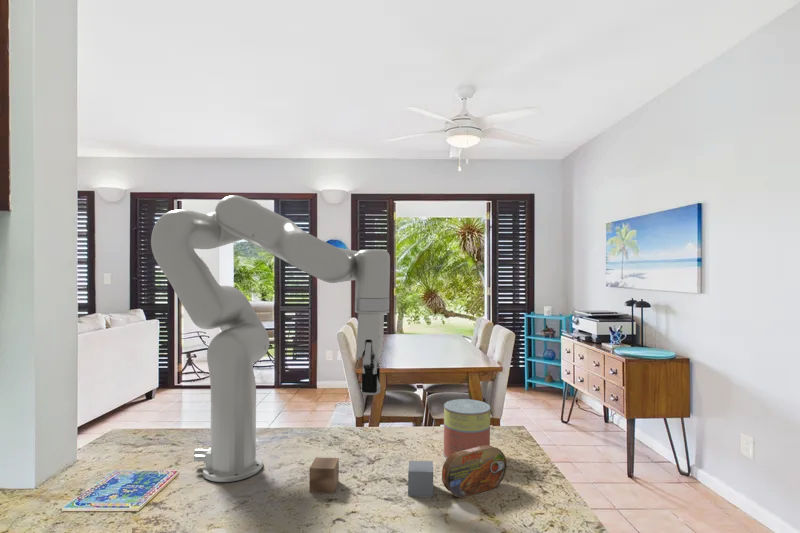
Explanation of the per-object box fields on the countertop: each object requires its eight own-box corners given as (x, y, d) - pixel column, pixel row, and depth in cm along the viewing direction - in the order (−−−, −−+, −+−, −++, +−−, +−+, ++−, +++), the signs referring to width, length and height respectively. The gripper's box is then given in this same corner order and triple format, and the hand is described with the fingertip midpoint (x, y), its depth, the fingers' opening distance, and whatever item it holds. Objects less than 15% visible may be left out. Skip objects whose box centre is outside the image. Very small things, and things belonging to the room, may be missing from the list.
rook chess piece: (378, 396, 96) (378, 358, 96) (358, 394, 96) (358, 357, 96) (383, 390, 100) (383, 354, 100) (364, 389, 101) (364, 353, 101)
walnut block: (309, 492, 91) (309, 468, 91) (315, 480, 96) (315, 457, 96) (333, 493, 90) (334, 468, 90) (338, 481, 95) (338, 458, 95)
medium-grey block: (408, 496, 89) (408, 471, 89) (408, 484, 94) (409, 460, 94) (433, 497, 89) (433, 472, 89) (432, 484, 94) (432, 461, 94)
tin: (447, 502, 87) (448, 459, 87) (439, 494, 90) (439, 452, 90) (507, 485, 94) (508, 445, 94) (497, 478, 97) (498, 440, 97)
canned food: (500, 457, 108) (500, 407, 108) (465, 469, 101) (465, 416, 101) (467, 442, 117) (468, 396, 117) (434, 452, 111) (434, 403, 111)
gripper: (360, 302, 107) (359, 378, 107) (348, 309, 90) (347, 399, 90) (392, 303, 106) (390, 379, 106) (385, 310, 90) (384, 401, 90)
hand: (370, 388), depth 98 cm, fingers closed on rook chess piece, 4 cm apart
